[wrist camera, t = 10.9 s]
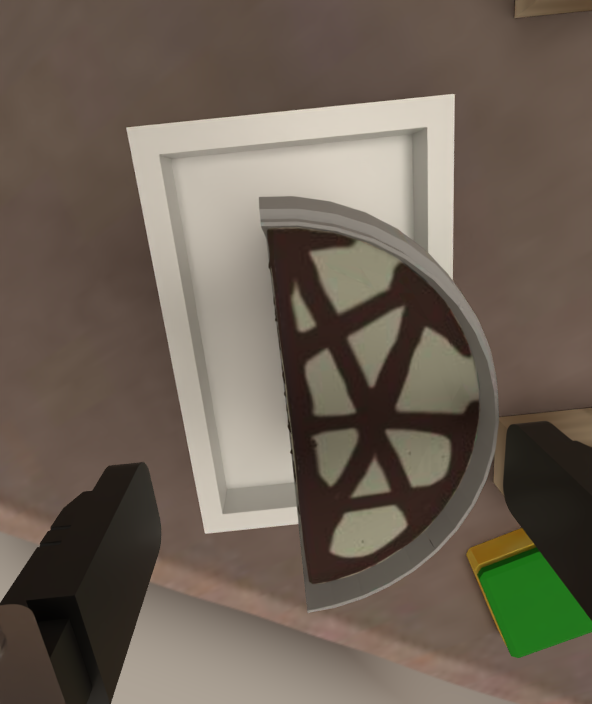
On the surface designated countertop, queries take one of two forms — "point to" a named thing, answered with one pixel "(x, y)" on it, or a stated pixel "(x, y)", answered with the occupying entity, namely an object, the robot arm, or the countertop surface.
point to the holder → (575, 423)
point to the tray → (252, 264)
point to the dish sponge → (525, 595)
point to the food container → (374, 395)
